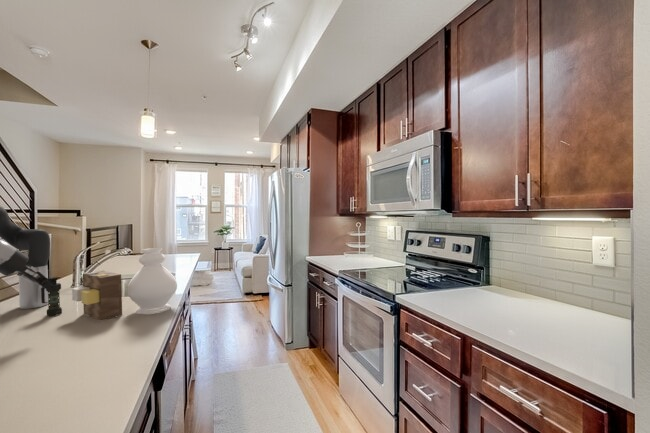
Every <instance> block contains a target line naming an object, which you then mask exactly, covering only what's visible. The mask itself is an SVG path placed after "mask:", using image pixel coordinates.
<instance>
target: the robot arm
mask: <svg viewBox="0 0 650 433" xmlns="http://www.w3.org/2000/svg"><path fill="white" fill-rule="evenodd" d="M0 238H1V239H0V274H1V275H3V276H5V277H6V276H11V275H13V274H14V273H15V272H16V276H18V296H19V301H18V302H19V309H21V310H27V309H28V310H29V309H35V308H41V307H44V306H47V305H48V303H42V301H41V288H42V287H44V288H45V290H44V291H45V302H48V291H46V289H47V290H49V291H53V290H54V289H55V288H56V287H57V286H56V285H54V284H53V283H51V282H50V281H48V278H49V269H48V268H49V267H48V263H49V262H48V261H49V260H50V254H51V253H50V252H51V251H50V250H51V238H50V235H49V233H48V232H47V230H44V229H41V228H38V229H37V228H36V229H35V228H33V229H31V228H30V229H29V228H28V229H27V228H23V227H21V226H20V225H17V223H14V222H13V221H11V218H10V215H9V214H8V211H7V210H6V209H5V208H4V207H3V206H2V205H0ZM23 251H24V252H25V251H26V252H28V253H27V254H25V253H23Z"/></svg>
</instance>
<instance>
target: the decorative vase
mask: <svg viewBox="0 0 650 433" xmlns="http://www.w3.org/2000/svg"><path fill="white" fill-rule="evenodd" d="M161 251H163V248H162V247H148V248H142V249H141V252H142V253H143V254H142V255H141V256H139V258H138V262H139V264H141V265H143V266H142V267H141V268H140V269H139V270H138V271H137V272H136V273H135V274H134V276H132V278H131V280H130V281H129V283H128V285H127V295H128V297H129V298H130V299H131V301H132V302H134V304H136V305H137V306H138V308H137V309H135V314H138V315H153V314H159V313H163V312H166V311H168V310H170V309H171V304H169V303H168V302H169V301H170V299H171V298H172V297H173V296H174V295H175V293H176V291H177V288H178V283H177V280H176V278H175V276H174V275H173V274H172V272H171V271H170V270H169V269H167V268H166V267H164V266H163V265H162V264H163V263H164V262H165V260H166V256H165V254H164V253H162V252H161Z"/></svg>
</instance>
